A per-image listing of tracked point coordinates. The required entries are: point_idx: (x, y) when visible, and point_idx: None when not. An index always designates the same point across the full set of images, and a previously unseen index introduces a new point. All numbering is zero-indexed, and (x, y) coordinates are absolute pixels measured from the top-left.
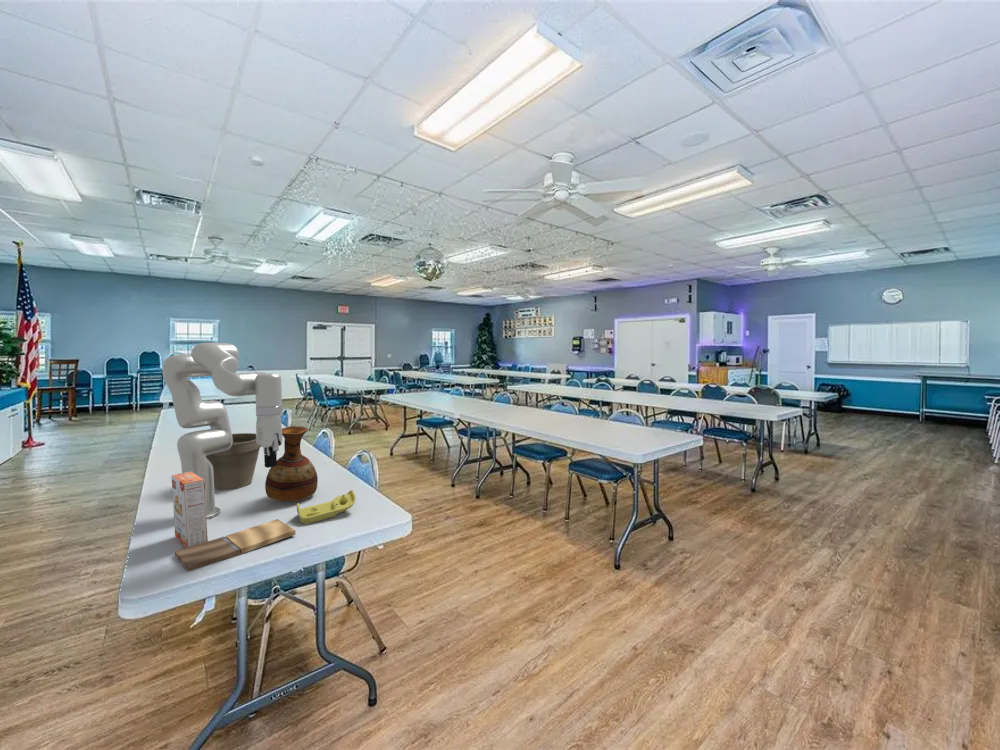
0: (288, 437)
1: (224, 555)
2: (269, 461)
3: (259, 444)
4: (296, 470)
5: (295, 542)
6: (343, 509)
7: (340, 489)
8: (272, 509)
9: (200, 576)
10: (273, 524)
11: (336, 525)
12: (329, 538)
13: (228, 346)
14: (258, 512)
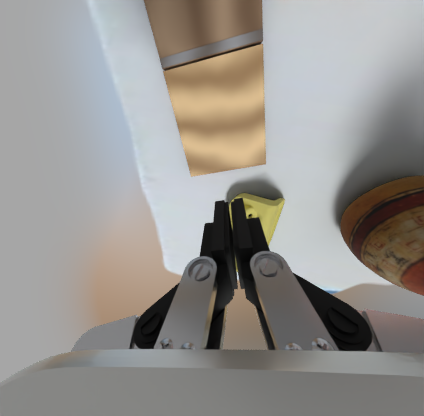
0: None
1: (152, 29)
2: (207, 233)
3: (326, 391)
4: (396, 258)
5: (170, 167)
6: None
7: (337, 266)
8: (357, 169)
9: None
10: (244, 152)
11: (200, 223)
12: (160, 205)
13: None
14: (369, 143)
